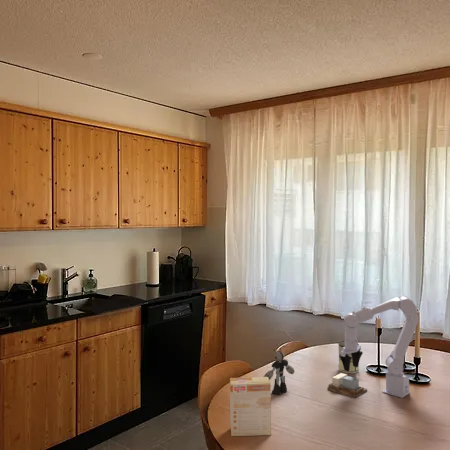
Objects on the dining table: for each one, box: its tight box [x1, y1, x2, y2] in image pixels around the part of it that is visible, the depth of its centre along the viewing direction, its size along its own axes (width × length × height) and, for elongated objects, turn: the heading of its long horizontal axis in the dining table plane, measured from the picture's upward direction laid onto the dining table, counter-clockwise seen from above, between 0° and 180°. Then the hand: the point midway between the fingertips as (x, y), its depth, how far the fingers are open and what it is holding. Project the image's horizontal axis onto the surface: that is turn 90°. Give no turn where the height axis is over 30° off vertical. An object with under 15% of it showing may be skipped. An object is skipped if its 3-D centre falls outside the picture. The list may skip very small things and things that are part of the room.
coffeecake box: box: [229, 376, 272, 437], centre depth 168 cm, size 15×7×20 cm, turn 92°
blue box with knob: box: [343, 375, 360, 391], centre depth 206 cm, size 6×4×6 cm, turn 43°
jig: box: [327, 382, 368, 399], centre depth 207 cm, size 14×11×2 cm
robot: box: [263, 347, 295, 396], centre depth 206 cm, size 20×5×20 cm, turn 128°
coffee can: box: [337, 340, 360, 374], centre depth 235 cm, size 10×10×14 cm
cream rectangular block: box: [331, 372, 348, 387], centre depth 211 cm, size 3×8×5 cm, turn 135°
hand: (351, 368), depth 208 cm, fingers open, 7 cm apart
